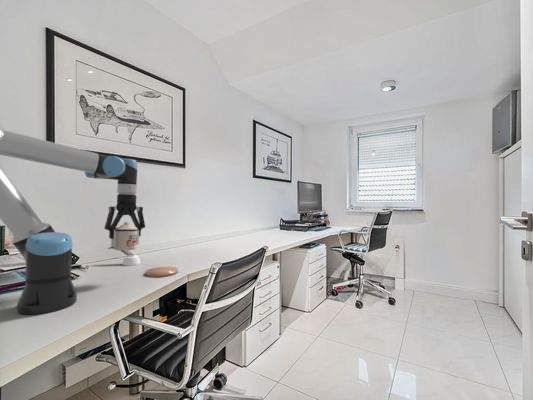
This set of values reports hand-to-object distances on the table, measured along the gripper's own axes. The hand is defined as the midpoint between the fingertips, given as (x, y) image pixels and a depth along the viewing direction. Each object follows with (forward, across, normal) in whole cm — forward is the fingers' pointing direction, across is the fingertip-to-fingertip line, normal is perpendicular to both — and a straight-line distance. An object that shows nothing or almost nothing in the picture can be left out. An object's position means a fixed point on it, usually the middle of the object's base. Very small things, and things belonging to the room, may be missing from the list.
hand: (125, 245), depth 116 cm
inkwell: (+16, +14, +33) cm, 39 cm away
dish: (+15, +17, -1) cm, 23 cm away
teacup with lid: (+2, +1, 0) cm, 2 cm away
